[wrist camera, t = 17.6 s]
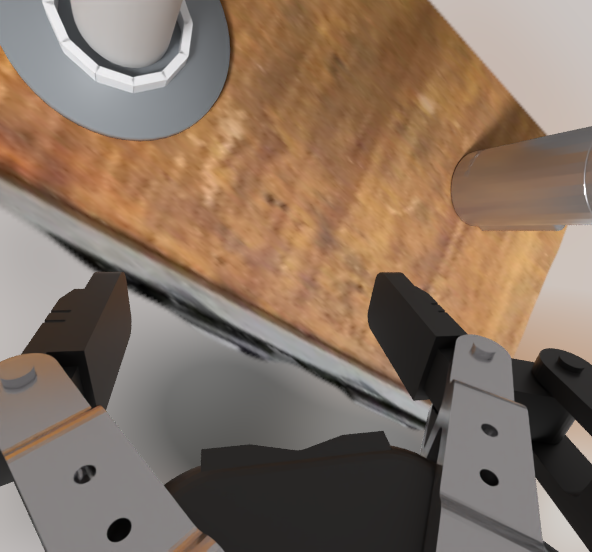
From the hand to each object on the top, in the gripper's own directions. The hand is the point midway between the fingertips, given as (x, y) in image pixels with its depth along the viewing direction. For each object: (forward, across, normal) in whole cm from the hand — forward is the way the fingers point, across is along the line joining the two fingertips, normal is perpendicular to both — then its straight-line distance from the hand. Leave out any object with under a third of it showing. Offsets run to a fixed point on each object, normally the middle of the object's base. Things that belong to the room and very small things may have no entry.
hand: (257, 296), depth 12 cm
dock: (+25, +8, -8) cm, 27 cm away
